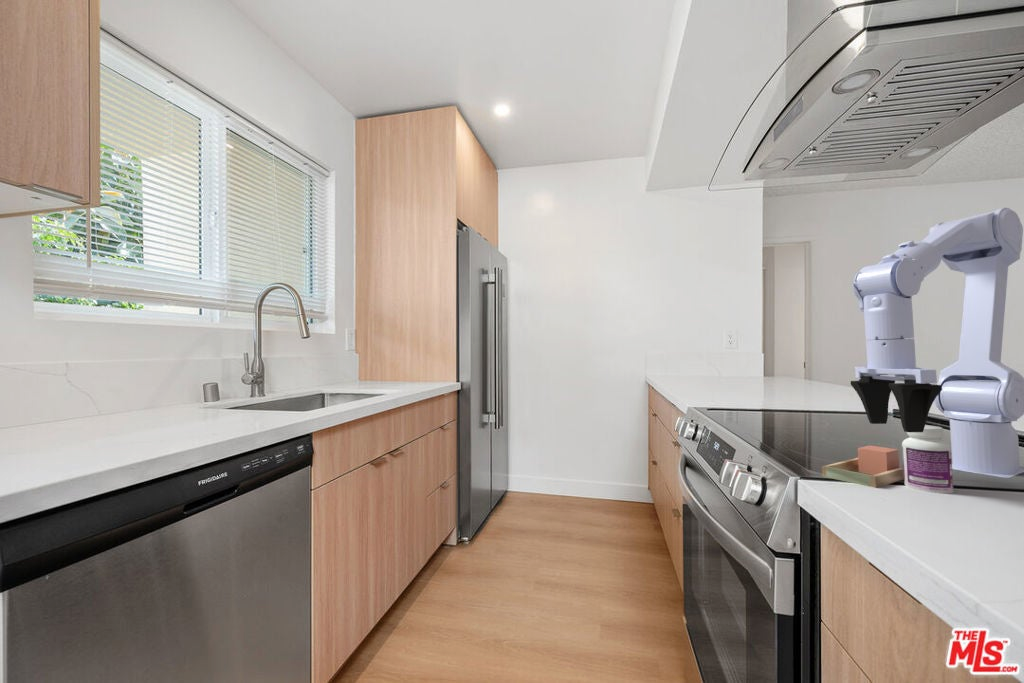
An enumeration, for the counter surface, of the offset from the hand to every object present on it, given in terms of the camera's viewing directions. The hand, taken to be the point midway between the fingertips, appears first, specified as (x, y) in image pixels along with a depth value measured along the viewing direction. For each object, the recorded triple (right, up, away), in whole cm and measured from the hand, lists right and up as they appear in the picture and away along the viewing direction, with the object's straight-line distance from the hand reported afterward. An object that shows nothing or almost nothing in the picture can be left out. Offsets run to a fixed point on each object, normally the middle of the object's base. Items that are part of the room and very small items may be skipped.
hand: (894, 427), depth 67 cm
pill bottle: (+3, -9, -2) cm, 10 cm away
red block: (+3, -9, +6) cm, 11 cm away
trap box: (+1, -9, +5) cm, 11 cm away
